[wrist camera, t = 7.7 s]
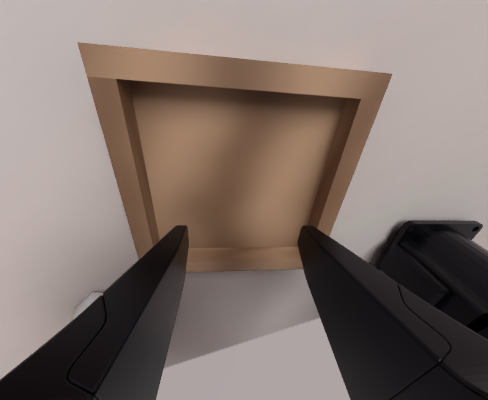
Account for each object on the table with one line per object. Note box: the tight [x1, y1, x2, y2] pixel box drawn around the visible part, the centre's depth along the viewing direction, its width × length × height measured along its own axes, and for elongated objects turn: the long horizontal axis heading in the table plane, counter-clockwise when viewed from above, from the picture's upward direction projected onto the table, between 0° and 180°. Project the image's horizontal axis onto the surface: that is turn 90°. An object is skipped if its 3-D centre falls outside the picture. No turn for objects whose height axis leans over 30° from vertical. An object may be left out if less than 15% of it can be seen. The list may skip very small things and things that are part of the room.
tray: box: [77, 42, 392, 272], centre depth 12 cm, size 12×12×2 cm
